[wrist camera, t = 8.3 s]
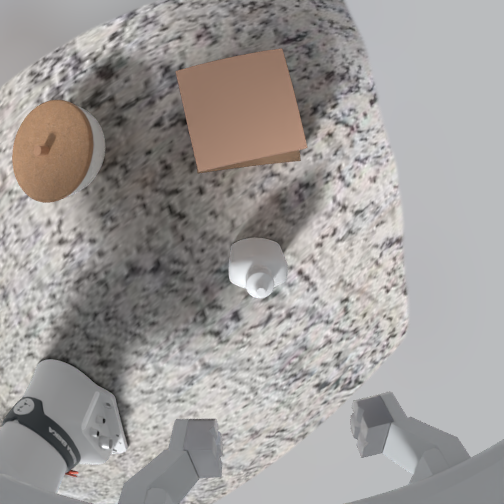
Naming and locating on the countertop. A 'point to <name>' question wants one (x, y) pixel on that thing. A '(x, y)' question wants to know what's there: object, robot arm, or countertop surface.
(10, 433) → the robot arm
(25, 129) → the lidded jar
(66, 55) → the countertop surface
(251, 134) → the terracotta top block
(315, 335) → the countertop surface
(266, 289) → the eye dropper bottle
